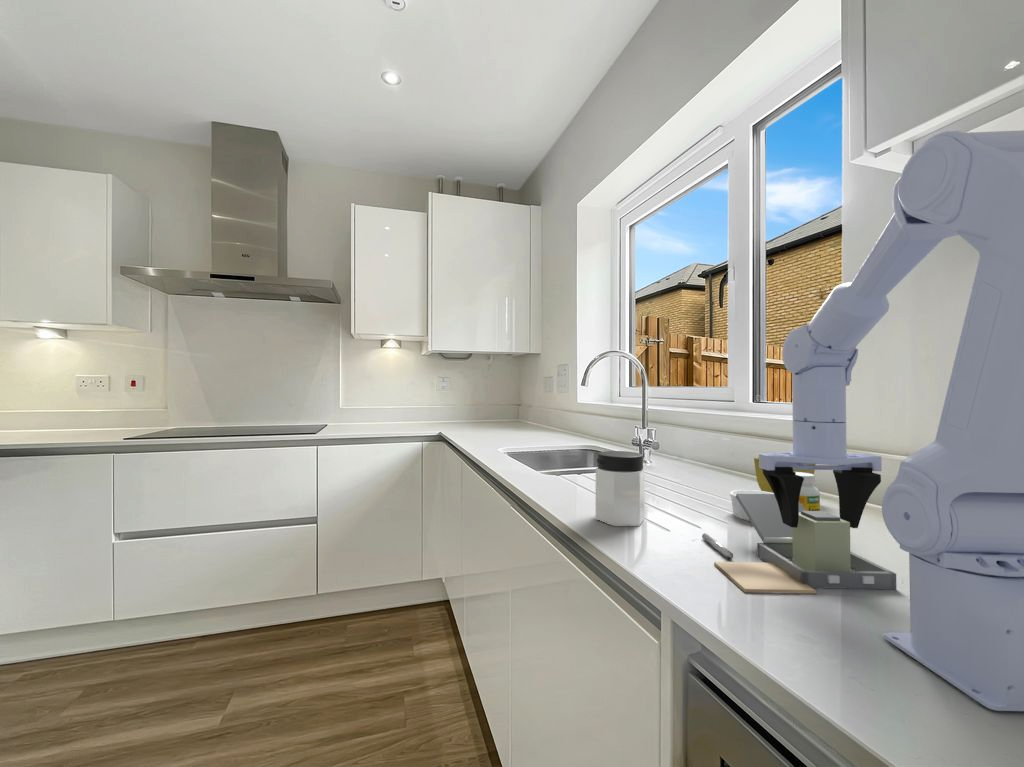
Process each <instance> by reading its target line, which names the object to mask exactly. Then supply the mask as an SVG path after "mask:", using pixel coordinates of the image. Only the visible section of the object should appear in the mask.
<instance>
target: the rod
mask: <svg viewBox="0 0 1024 767" xmlns="http://www.w3.org/2000/svg"><path fill="white" fill-rule="evenodd" d="M701 538H702V539H703V540H704V541H705V542H707V543H708V545H710V546H711V547H713V548H714V549H715V550H716V551H717V552H719V553H720V554H721V555H722V556H723V557H725V558H726V559H728V560H733V558H734V553H733V552H732V551H730V550H729V549H728V548H726V547H725V546H723V545H722V544H721V543H720V542H719V541H717V539H714V538H713V537H712V536H711V535H709V534H708V533H705V532H704V533H702V535H701Z"/></svg>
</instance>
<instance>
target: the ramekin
mask: <svg viewBox="0 0 1024 767" xmlns="http://www.w3.org/2000/svg"><path fill="white" fill-rule="evenodd" d="M729 494H730V495H729V496H730V498H731V507H732V508H731V509H732V514H733V515H734V516H735V518H738V517H739V518H738V519H740V518H741V519H740V520H743V519H744V521H747V520H748V522H751V521H750V520H749V518H748V516H747V515H746V513H745V512H744V510H743V508H742V507H741V505H740V503H739V502H738V500H737V498H736V494H774V493H771V492H765V491H761V490H758V489H757V490H753V489H735V490H731V491H730V492H729Z"/></svg>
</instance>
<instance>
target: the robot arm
mask: <svg viewBox="0 0 1024 767" xmlns="http://www.w3.org/2000/svg"><path fill="white" fill-rule="evenodd" d="M892 210H893V215H892V217H891V218H890V220H889V222H888V223H887V224H886V226H885V228H884V229H883V231H882V233H881V234H880V236H879V238H878V239H877V240H876V242H875V244H874V246H873V247H872V249H871V250H870V252H869V254H868V255H867V257H866V259H865V260H864V262H863V264H862V265H861V266H860V268H859V270H858V272H857V273H856V275H855V276H854V278H853V280H852V281H851V282H850V281H849V282H844V283H842V284H841V283H840V284H839V285H836V286H835V287H834V288H833V289H832V291H830V294H829V295H828V296H827V298H826V299H825V300H824V301H823V303H822V305H821V306H820V307H819V308H818V310H817V311H816V313H815V314H814V316H813V317H812V319H810V321H809V323H808V324H806V325H805V324H804V325H803V324H802V325H801V326H800V327H799V328H793V329H792V330H790V331H789V332H788V333H787V336H786V337H785V340H784V342H783V345H782V351H781V352H782V355H781V357H782V362H783V365H784V367H785V369H786V370H787V371H788V372H789V373H792V374H791V375H792V376H791V380H792V383H791V384H792V387H791V388H792V389H791V390H792V391H791V392H792V451H790V452H789V451H788V452H770V453H768V452H766V453H758V457H759V468H762V469H763V475H764V476H765V478H766V479H767V481H768V483H769V485H770V487H771V489H772V491H773V493H774V495H775V498H776V500H777V503H778V506H779V510H780V513H781V517H782V522H783V523H784V524H786V525H788V526H790V527H795V528H797V526H798V521H799V496H800V491H801V487H802V483H803V480H804V478H803V477H801V476H798V475H796V472H793V470H815V471H817V470H819V471H823V470H824V471H832V473H833V476H834V479H835V483H836V486H837V493H838V508H839V509H838V511H839V513H838V514H839V517H840V519H842V520H845V521H847V522H850V529H858V528H859V525H860V522H861V518H862V516H863V512H864V511H865V507H866V505H867V503H868V501H869V499H870V497H871V495H872V494H873V492H874V491H875V490H876V488H877V487H878V486H879V485H880V484H881V482H882V475H881V474H879V473H877V472H882V470H883V469H882V467H883V466H882V465H883V464H882V461H883V460H882V458H883V457H882V456H881V455H876V454H869V453H868V454H867V453H865V454H864V453H847V392H846V391H847V388H846V387H847V386H850V384H851V382H852V373H853V372H852V371H853V369H854V366H855V365H856V363H857V359H858V356H859V348H857V346H858V345H859V344H860V343H861V342H862V341H863V340H864V339H865V337H867V335H868V334H869V333H870V331H871V330H873V328H875V326H876V325H877V324H878V323H879V322H880V320H881V319H883V317H884V316H885V315H886V314H887V313H888V311H889V310H890V304H889V300H888V297H887V296H888V295H889V293H890V292H891V291H893V289H895V287H897V286H898V284H899V283H901V282H902V280H903V279H904V278H906V277H907V275H909V274H910V272H911V271H912V270H913V269H915V267H917V265H919V263H921V261H923V259H924V258H926V257H927V255H929V254H930V253H931V252H932V251H933V250H934V249H935V248H936V247H937V246H938V244H940V243H941V242H942V241H943V240H944V239H948V238H950V237H951V238H952V237H954V236H960V237H961V238H962V239H964V241H966V242H967V243H968V244H969V245H970V246H972V247H973V248H974V249H976V251H977V252H978V254H979V259H978V262H977V267H976V272H975V275H974V279H973V283H972V287H971V292H970V296H969V299H968V303H967V308H966V311H965V312H966V313H965V316H964V320H963V325H962V328H961V333H960V337H959V341H958V345H957V349H956V354H955V358H954V361H953V365H952V369H951V373H950V378H949V380H948V386H947V390H946V394H945V397H944V398H945V399H944V402H943V406H942V410H941V411H942V412H941V414H940V419H939V423H938V427H937V432H936V434H935V439H934V440H933V441H932V442H931V443H929V444H927V445H926V446H924V447H922V448H920V449H919V450H917V451H915V452H913V453H912V454H910V455H909V456H906V457H905V458H903V459H902V460H901V462H900V464H899V467H898V472H897V475H896V477H895V479H894V480H893V482H891V484H890V485H888V487H887V488H886V490H885V492H884V495H883V497H882V501H881V513H882V518H883V522H884V525H885V527H886V529H887V530H888V532H889V533H890V535H891V536H892V538H893V539H894V540H895V541H896V543H897V544H899V549H900V550H902V551H903V552H907V553H908V564H909V566H908V567H909V569H908V570H909V571H908V572H909V574H908V575H909V627H910V631H909V632H894V631H893V632H890V631H889V632H887V631H886V632H884V633H883V638H884V639H885V640H886V641H887V642H890V644H892V645H894V646H895V647H897V648H898V649H899V650H900V651H903V652H904V653H906V655H908V656H910V657H911V658H913V659H914V660H916V661H917V662H919V663H920V664H922V666H924V667H926V668H927V669H929V670H930V671H932V672H934V673H935V674H936V675H938V676H940V677H941V678H942V679H944V680H946V682H948V683H949V684H951V685H953V686H954V687H956V688H957V689H959V690H960V691H961V692H963V693H964V694H966V695H967V696H969V697H970V698H972V699H973V700H975V701H976V702H978V703H979V704H981V705H982V706H984V707H986V708H987V709H989V710H992V711H995V712H1024V129H1023V130H1001V131H998V130H996V131H976V132H975V131H974V132H970V131H969V132H961V131H959V130H951V131H950V130H949V131H943V132H939V133H937V134H935V135H933V136H931V137H929V138H928V139H927V140H925V141H924V142H923V143H922V144H921V145H920V146H918V148H916V150H915V151H914V152H913V153H912V155H911V156H910V158H909V159H908V161H907V162H906V164H905V166H904V167H903V169H902V172H901V175H900V177H899V178H898V179H897V180H896V181H895V183H894V184H893V188H892ZM809 464H816V465H809Z"/></svg>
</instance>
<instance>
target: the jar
mask: <svg viewBox="0 0 1024 767" xmlns="http://www.w3.org/2000/svg"><path fill="white" fill-rule="evenodd" d="M596 456H597V458H596V464H597V465H596V466H597V467H596V468H595V520H596V519H597V520H596V521H598V520H600V521H599V522H601V521H602V522H601V523H603V522H605V523H604V524H606V523H607V525H609V524H610V526H612V527H639V526H641V524H642V523H643V522H644V520H645V468H644V455H643V454H642V453H640V452H634V451H623V450H605V451H599V452H597V455H596Z"/></svg>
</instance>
